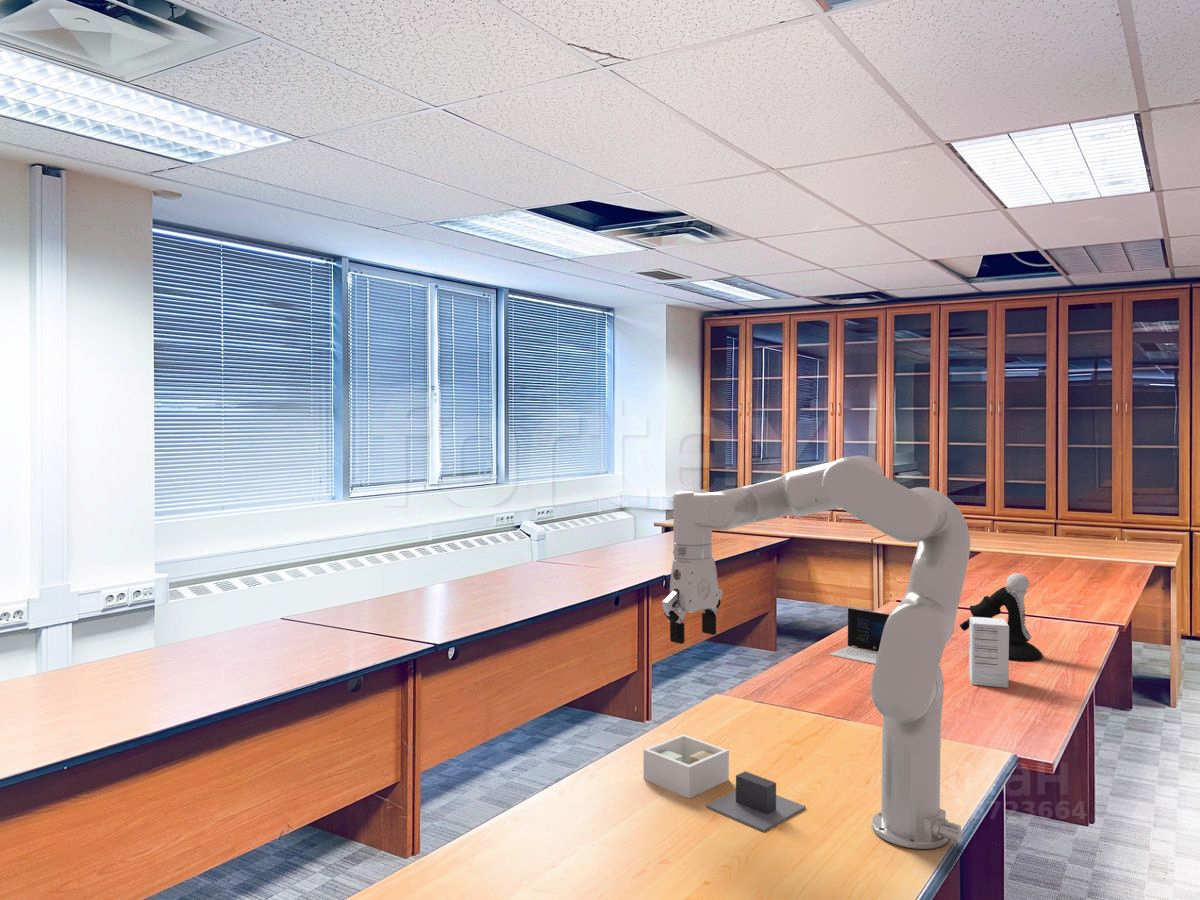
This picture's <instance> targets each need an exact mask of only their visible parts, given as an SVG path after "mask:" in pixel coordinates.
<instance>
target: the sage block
mask: <svg viewBox="0 0 1200 900" xmlns="http://www.w3.org/2000/svg"><path fill="white" fill-rule="evenodd" d="M659 754H662V755H665V756H667V757H670V758H672V759H675V760H677V761H680V762H683V756H682V755H679V754H676V753H674V752H671V751H669V750H667V751H664V752H662V753H659Z"/></svg>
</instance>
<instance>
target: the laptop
mask: <svg viewBox="0 0 1200 900" xmlns="http://www.w3.org/2000/svg"><path fill="white" fill-rule="evenodd" d="M889 615H890V613H889V614H888V613H883V612H877V611H871V610H865V609H860V608H852V607H848V608H847V646H845V647H843V648H840V649H838V650H836V651H835V650H834V651H832V652H831V653H829V654H828V655H829V656H833V657H837V658H841V659H846V660H852V661H856V662H861V663H867V664H870V665H871V664H872V665H875V663H876V659H877V655H878V650H879V646H880V642H881V638H882V634H883V630H884V627H885V624H886V621H887V619H888V617H889Z"/></svg>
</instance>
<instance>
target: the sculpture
mask: <svg viewBox="0 0 1200 900" xmlns="http://www.w3.org/2000/svg"><path fill="white" fill-rule="evenodd" d="M1006 584H1007V585H1004V586H1002V587H1001V588H999V589H997V590H996V591H995V592H994V593H993V594H991V595H990V596H988V595H984V596H983V598H982V599H981V601H980V602H979V603H978V604H974V605H970V606H969V611H970V614H971V615H972V616H971V617H983V618H995V617H996V616H998V615H1001V613H1002V611H1001V609H1002V607H1003V606H1004V607H1005V609H1006V610H1007V615H1008V616H1007V617H1008V618H1007V624H1008V625H1009V661H1015V662H1036V661H1039V660H1042V659H1043V653H1042V651H1041V650H1039V648H1037V647H1036V646H1035V645H1033V644H1031V643H1030V642H1029V641H1030V640H1031V639H1032V636H1031V634H1030V633H1029V631H1028V629H1027V627H1026V622H1025V621H1026V617H1027V616H1026V615H1027V614H1026V613H1025V612H1026V607H1025V596H1026V593H1027V592H1028V591H1027V589H1029V587H1030V580H1029V578H1028V576H1026V575H1025V574H1023V573H1017V572H1015V573H1012V574H1010V575H1009V576H1008V577H1007V579H1006ZM969 623H970V617H969V618H968V619H967V620H965V621H963V622H962V623H961V624H959V627H960V628H961V631H964V632H965V631H967V630H968V629H969Z"/></svg>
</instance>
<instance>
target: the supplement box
mask: <svg viewBox="0 0 1200 900" xmlns="http://www.w3.org/2000/svg"><path fill="white" fill-rule="evenodd" d="M969 618H970V623H969V628H968V629H969V630H968V631H969V650H968V652H969V653H968V655H969V656H968V659H969V660H968V662H969V663H968V666H969V667H968V677H969V680H970V683H971V685H973V686H985V687H997V688H1006V689H1009V677H1010V676H1009V674H1010V673H1009V662H1010V660H1009V625H1008V621H1006V619H1005V618H1000V617H996V618H995V617H992V618H983V617H972V616H970V617H969Z"/></svg>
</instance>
